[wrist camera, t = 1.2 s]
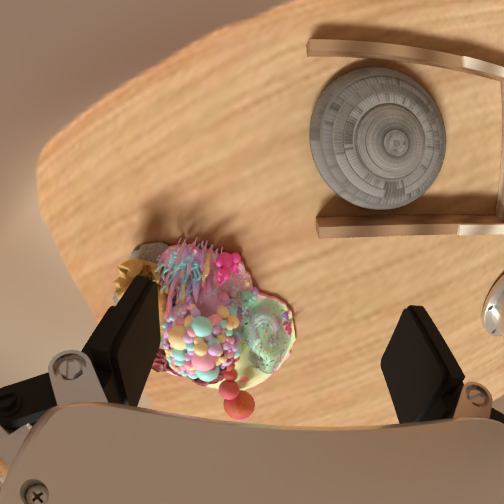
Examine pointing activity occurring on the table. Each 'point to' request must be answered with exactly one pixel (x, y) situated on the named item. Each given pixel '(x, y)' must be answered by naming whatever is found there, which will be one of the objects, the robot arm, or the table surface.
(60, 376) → the robot arm
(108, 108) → the table surface
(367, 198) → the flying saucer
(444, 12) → the table surface
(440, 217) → the bay
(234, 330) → the candy landscape model
